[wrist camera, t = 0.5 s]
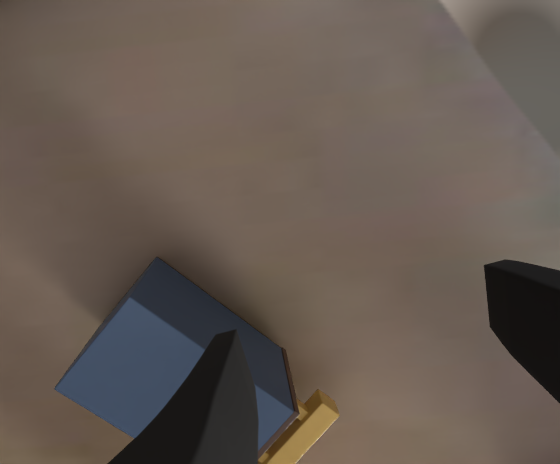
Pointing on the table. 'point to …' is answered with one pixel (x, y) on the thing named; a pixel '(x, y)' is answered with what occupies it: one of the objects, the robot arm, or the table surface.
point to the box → (186, 365)
